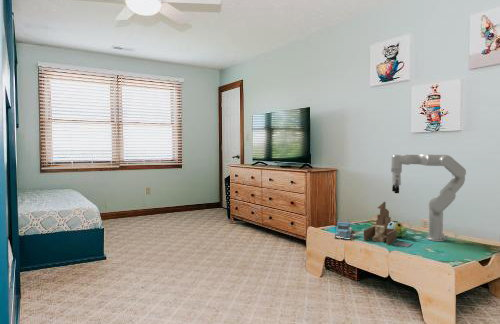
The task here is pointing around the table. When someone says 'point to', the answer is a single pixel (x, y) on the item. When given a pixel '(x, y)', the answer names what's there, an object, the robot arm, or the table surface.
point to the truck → (343, 229)
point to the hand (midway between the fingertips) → (395, 192)
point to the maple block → (379, 231)
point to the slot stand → (389, 237)
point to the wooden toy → (383, 216)
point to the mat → (402, 244)
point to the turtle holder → (397, 228)
